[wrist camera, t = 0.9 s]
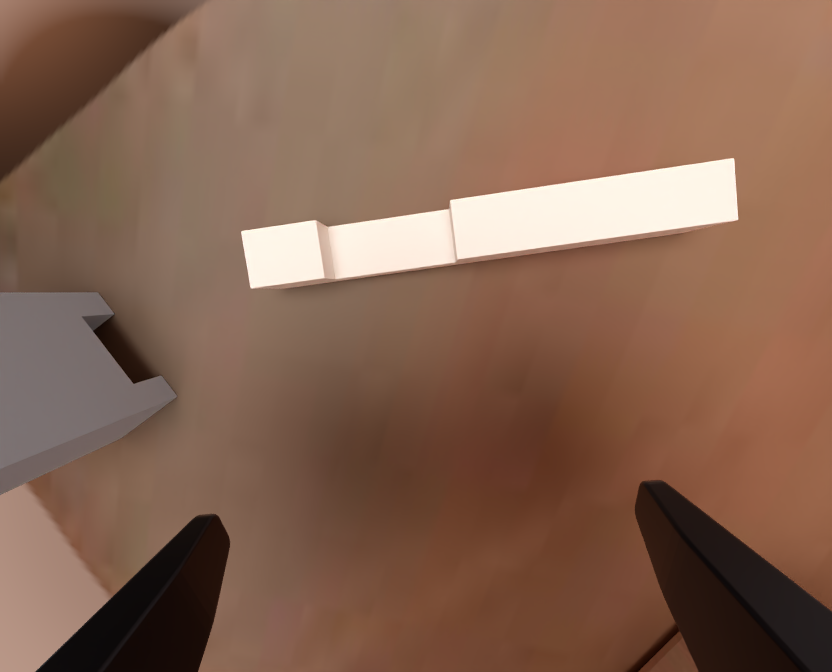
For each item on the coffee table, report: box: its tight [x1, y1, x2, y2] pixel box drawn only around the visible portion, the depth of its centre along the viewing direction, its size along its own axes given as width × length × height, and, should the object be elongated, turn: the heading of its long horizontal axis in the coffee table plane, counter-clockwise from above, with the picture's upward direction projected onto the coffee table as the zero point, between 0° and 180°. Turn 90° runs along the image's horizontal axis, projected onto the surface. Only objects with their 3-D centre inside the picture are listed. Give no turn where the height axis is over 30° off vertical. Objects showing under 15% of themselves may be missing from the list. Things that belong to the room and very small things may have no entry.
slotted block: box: [0, 292, 178, 495], centre depth 18 cm, size 7×4×10 cm, turn 36°
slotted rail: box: [241, 158, 738, 289], centre depth 20 cm, size 2×20×4 cm, turn 98°
